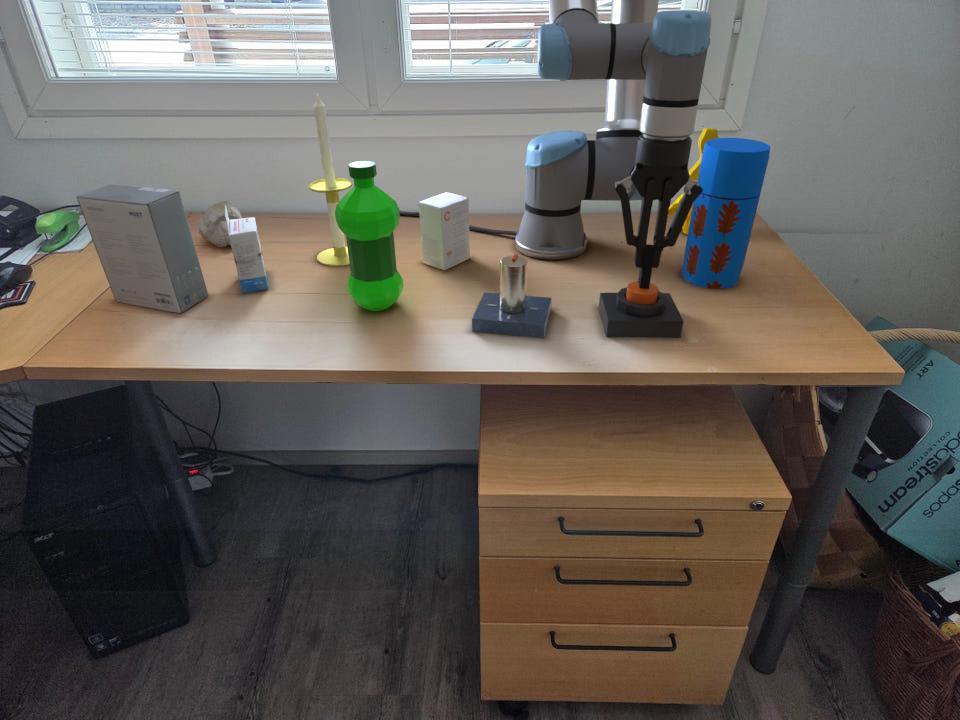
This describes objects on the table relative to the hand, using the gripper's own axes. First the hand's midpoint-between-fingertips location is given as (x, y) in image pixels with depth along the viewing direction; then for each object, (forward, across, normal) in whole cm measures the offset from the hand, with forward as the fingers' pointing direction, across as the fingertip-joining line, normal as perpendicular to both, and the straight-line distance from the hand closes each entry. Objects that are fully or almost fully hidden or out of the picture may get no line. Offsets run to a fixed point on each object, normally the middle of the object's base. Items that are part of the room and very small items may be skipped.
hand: (643, 284), depth 100 cm
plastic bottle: (+7, +46, -2) cm, 47 cm away
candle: (+7, +59, -23) cm, 64 cm away
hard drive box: (+7, +86, 0) cm, 87 cm away
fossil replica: (+7, +88, -28) cm, 92 cm away
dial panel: (+7, +21, +1) cm, 22 cm away
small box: (+7, +37, -23) cm, 44 cm away
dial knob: (+5, +21, +1) cm, 22 cm away
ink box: (+7, +72, -9) cm, 73 cm away
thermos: (+7, -16, -20) cm, 26 cm away
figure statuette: (+7, -17, -45) cm, 49 cm away
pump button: (+3, 0, 0) cm, 3 cm away
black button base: (+7, 0, 0) cm, 7 cm away
